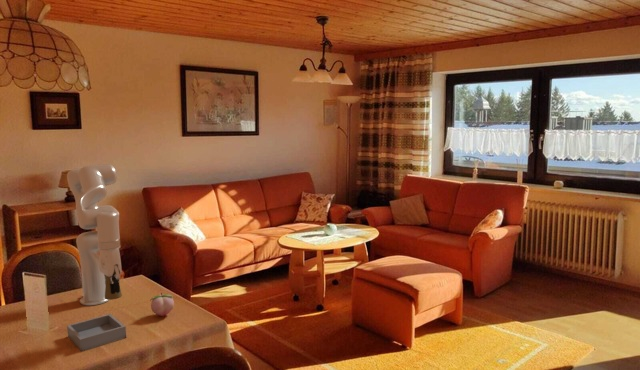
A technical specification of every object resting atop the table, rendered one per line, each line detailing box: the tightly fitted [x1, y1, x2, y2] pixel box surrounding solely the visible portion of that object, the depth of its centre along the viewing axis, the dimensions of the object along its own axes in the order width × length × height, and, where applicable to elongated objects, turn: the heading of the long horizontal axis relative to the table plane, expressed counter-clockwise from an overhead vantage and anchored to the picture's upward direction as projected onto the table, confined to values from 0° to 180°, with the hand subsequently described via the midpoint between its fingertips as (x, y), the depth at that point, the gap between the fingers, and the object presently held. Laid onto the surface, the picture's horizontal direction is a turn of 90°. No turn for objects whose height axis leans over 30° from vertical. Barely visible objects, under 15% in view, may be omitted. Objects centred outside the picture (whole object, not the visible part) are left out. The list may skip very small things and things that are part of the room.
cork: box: [104, 273, 123, 301], centre depth 190 cm, size 6×6×11 cm
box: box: [66, 313, 127, 352], centre depth 189 cm, size 16×16×4 cm
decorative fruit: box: [150, 292, 175, 317], centre depth 208 cm, size 9×8×10 cm
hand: (112, 290), depth 190 cm, fingers closed on cork, 4 cm apart
